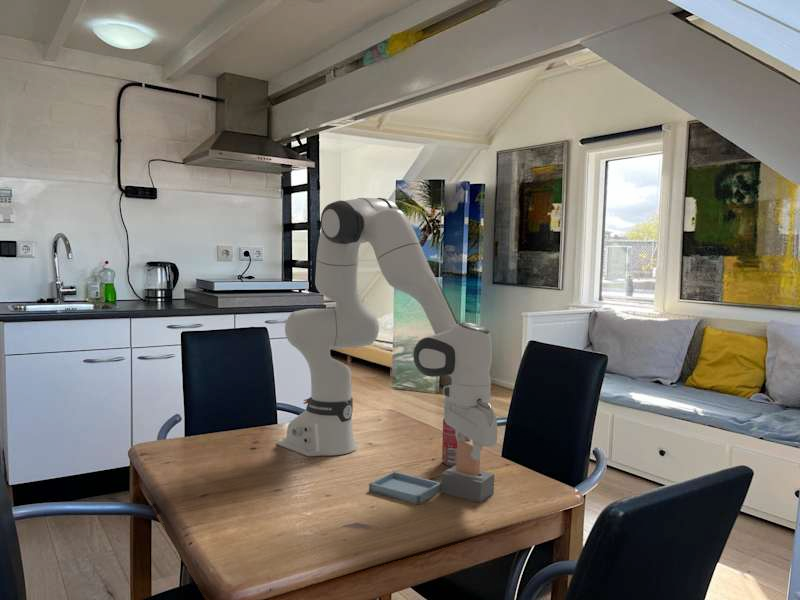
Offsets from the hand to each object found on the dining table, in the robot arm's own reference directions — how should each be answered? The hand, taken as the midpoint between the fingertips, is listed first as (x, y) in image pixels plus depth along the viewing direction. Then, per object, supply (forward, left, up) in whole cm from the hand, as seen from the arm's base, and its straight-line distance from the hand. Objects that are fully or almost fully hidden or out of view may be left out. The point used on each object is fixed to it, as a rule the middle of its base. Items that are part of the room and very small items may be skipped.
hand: (468, 454), depth 142 cm
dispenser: (0, 0, -9) cm, 9 cm away
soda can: (-12, +17, -9) cm, 22 cm away
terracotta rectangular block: (0, 0, -6) cm, 6 cm away
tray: (-12, -8, -9) cm, 17 cm away
